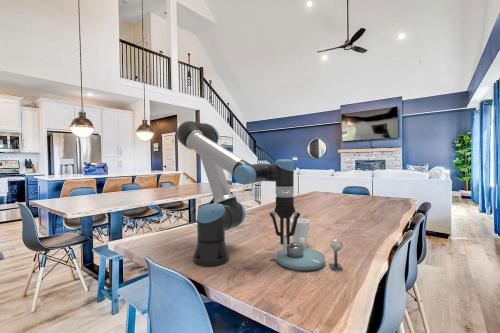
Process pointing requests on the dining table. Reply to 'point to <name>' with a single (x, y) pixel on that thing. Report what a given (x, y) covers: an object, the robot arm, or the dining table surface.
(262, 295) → the dining table surface
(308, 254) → the turntable
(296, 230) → the foam cup
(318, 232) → the dining table surface
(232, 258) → the dining table surface
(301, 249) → the cover
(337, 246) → the dial stand
